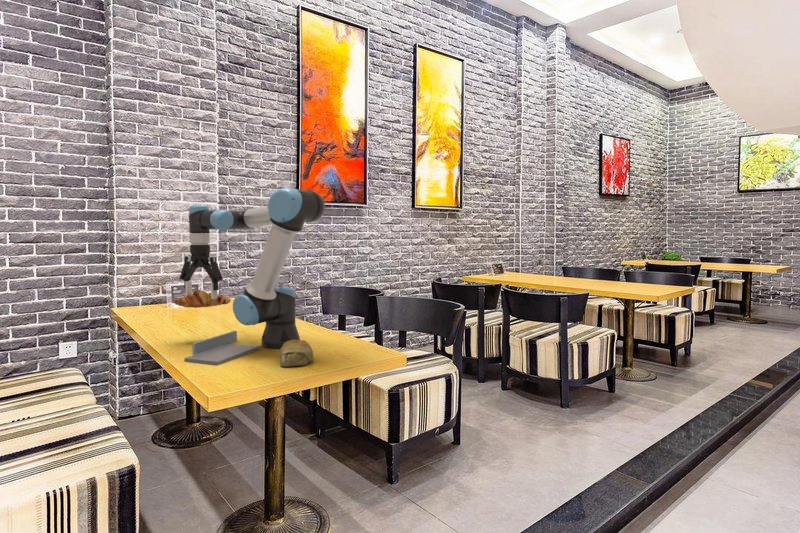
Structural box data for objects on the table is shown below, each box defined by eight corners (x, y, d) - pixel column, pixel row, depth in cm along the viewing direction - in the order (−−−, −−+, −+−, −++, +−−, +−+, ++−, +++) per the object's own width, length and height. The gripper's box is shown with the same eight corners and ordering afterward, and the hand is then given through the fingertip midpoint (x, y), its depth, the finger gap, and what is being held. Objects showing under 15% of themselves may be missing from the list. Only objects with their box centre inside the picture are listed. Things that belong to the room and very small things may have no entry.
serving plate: (259, 349, 190) (259, 345, 190) (217, 365, 167) (217, 361, 167) (229, 346, 194) (229, 343, 194) (184, 361, 172) (184, 358, 172)
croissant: (229, 311, 207) (229, 294, 210) (231, 303, 199) (231, 285, 202) (174, 314, 198) (174, 295, 201) (174, 305, 190) (173, 286, 193)
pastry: (299, 355, 181) (298, 334, 180) (322, 361, 173) (322, 339, 173) (267, 364, 170) (267, 341, 169) (291, 370, 162) (291, 346, 162)
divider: (236, 340, 204) (236, 330, 204) (195, 354, 181) (194, 343, 181) (234, 340, 204) (234, 330, 204) (192, 354, 182) (192, 343, 182)
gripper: (231, 244, 197) (232, 297, 199) (182, 243, 205) (184, 295, 207) (218, 244, 190) (219, 300, 192) (168, 244, 198) (170, 297, 200)
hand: (201, 297), depth 200 cm, fingers closed on croissant, 12 cm apart
